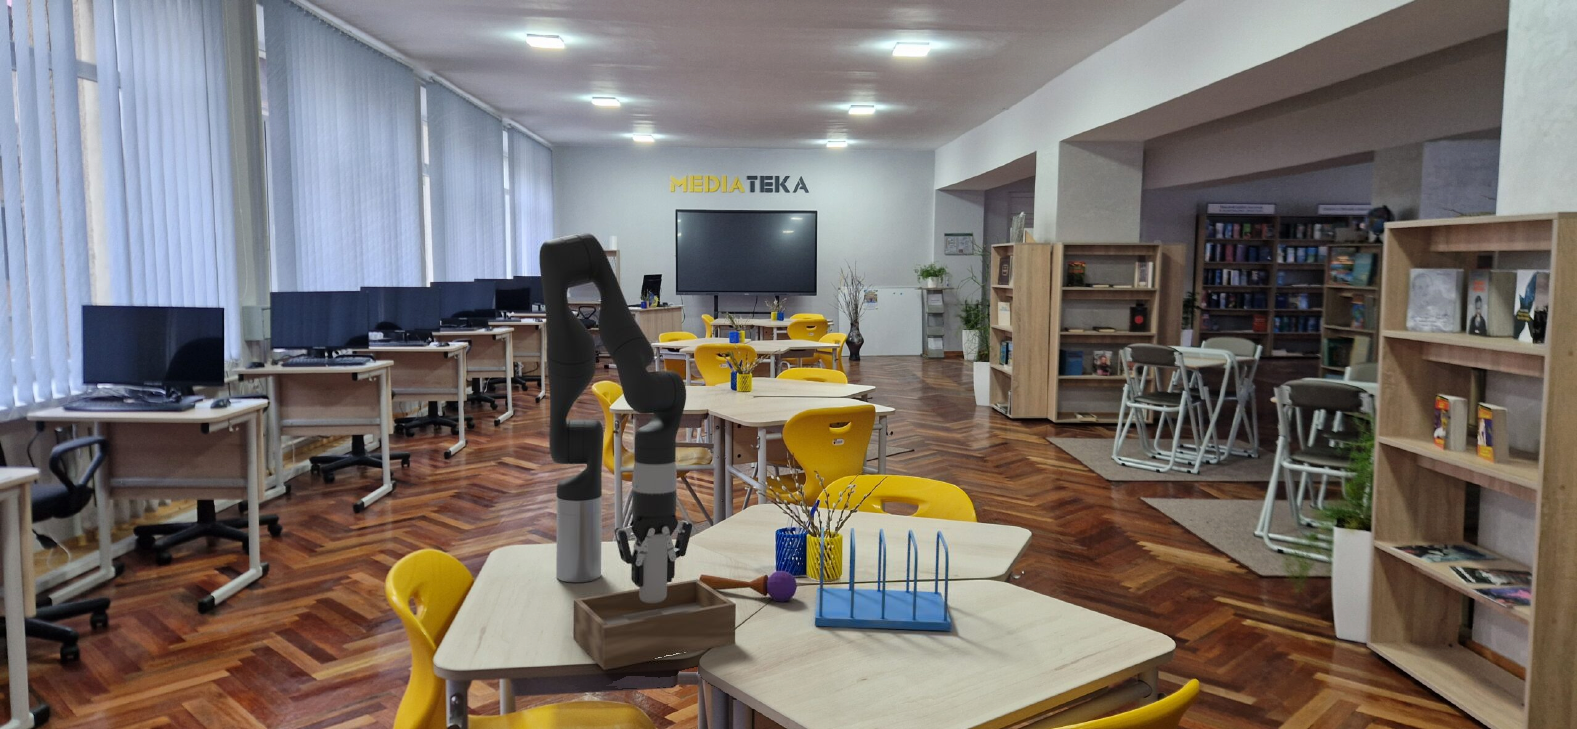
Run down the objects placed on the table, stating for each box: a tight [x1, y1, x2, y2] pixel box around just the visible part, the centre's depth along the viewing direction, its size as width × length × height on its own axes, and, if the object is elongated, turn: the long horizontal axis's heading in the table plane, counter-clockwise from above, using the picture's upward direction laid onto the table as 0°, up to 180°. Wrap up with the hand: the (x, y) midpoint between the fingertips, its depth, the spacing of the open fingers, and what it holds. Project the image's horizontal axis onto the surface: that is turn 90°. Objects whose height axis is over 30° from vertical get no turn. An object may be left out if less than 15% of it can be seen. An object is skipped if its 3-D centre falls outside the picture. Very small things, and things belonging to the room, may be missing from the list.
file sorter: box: [814, 526, 952, 632], centre depth 179 cm, size 25×17×15 cm
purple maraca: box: [698, 570, 798, 602], centre depth 188 cm, size 6×6×20 cm
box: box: [572, 578, 737, 671], centre depth 163 cm, size 15×24×7 cm, turn 122°
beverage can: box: [638, 533, 668, 603], centre depth 162 cm, size 5×5×12 cm
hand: (653, 582), depth 162 cm, fingers closed on beverage can, 4 cm apart
